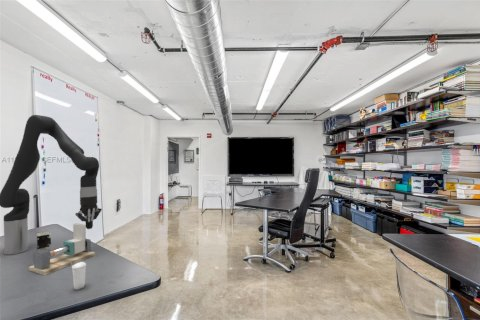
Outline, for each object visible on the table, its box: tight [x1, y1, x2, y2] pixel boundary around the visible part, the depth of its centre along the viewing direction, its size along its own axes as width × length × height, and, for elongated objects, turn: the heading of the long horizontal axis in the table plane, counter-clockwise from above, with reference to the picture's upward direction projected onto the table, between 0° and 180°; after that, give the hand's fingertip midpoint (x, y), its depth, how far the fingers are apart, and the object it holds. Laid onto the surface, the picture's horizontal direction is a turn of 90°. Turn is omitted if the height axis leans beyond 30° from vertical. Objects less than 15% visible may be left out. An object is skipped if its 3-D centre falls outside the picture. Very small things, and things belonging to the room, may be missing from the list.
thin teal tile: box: [62, 240, 74, 256], centre depth 113 cm, size 1×6×6 cm, turn 66°
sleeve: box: [67, 223, 87, 254], centre depth 116 cm, size 5×7×13 cm
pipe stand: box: [28, 238, 96, 276], centre depth 111 cm, size 22×12×8 cm, turn 157°
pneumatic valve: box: [35, 230, 52, 250], centre depth 121 cm, size 6×12×12 cm, turn 42°
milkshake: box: [70, 261, 87, 290], centre depth 88 cm, size 4×5×10 cm
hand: (89, 228), depth 122 cm, fingers closed
